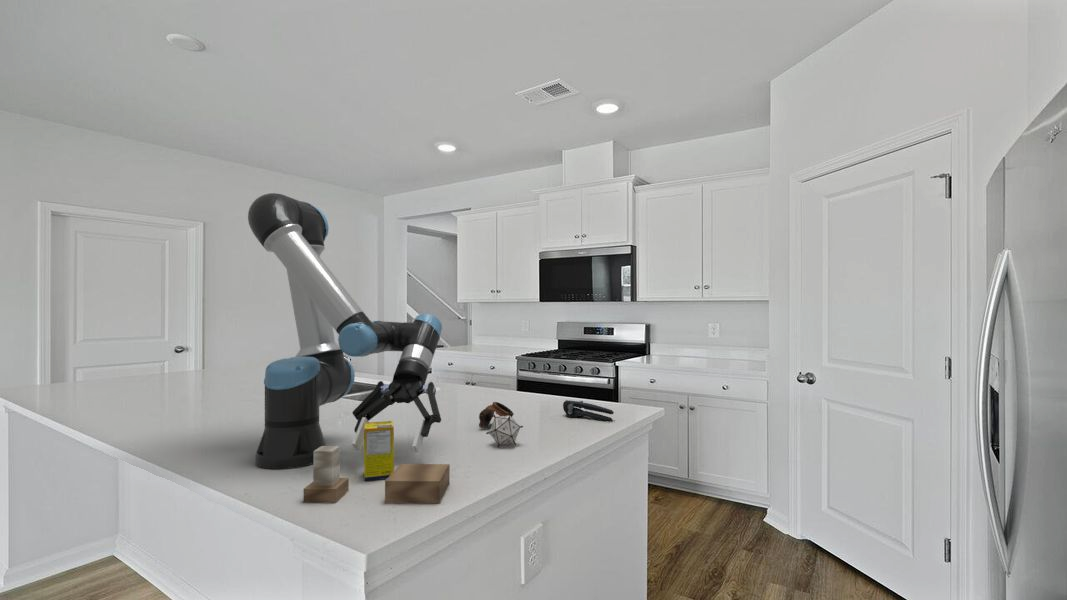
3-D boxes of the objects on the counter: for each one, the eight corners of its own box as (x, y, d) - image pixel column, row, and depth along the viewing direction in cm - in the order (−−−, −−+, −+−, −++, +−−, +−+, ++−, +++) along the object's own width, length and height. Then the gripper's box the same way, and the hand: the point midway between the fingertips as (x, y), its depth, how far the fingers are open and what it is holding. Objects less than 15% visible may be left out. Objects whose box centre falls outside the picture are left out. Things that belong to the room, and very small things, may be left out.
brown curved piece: (486, 423, 158) (500, 400, 158) (508, 440, 154) (522, 417, 154) (465, 420, 148) (479, 396, 148) (487, 439, 143) (502, 414, 143)
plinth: (384, 502, 93) (384, 480, 93) (400, 483, 102) (400, 463, 103) (439, 503, 92) (439, 481, 92) (449, 484, 102) (449, 464, 102)
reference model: (303, 502, 93) (303, 453, 93) (317, 490, 99) (318, 444, 99) (335, 502, 93) (336, 453, 93) (348, 490, 99) (348, 444, 99)
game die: (510, 461, 130) (521, 435, 125) (479, 449, 130) (489, 422, 125) (518, 436, 138) (529, 410, 132) (489, 425, 138) (498, 399, 133)
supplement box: (392, 469, 111) (392, 420, 112) (394, 478, 106) (394, 426, 106) (363, 472, 109) (364, 422, 110) (364, 481, 104) (364, 428, 104)
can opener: (558, 417, 165) (558, 400, 165) (569, 413, 171) (569, 397, 171) (608, 424, 155) (608, 406, 155) (617, 420, 161) (617, 402, 161)
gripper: (466, 378, 123) (445, 459, 108) (370, 376, 127) (338, 454, 112) (459, 358, 118) (436, 441, 103) (359, 358, 122) (324, 436, 107)
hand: (385, 448), depth 108 cm, fingers open, 13 cm apart
